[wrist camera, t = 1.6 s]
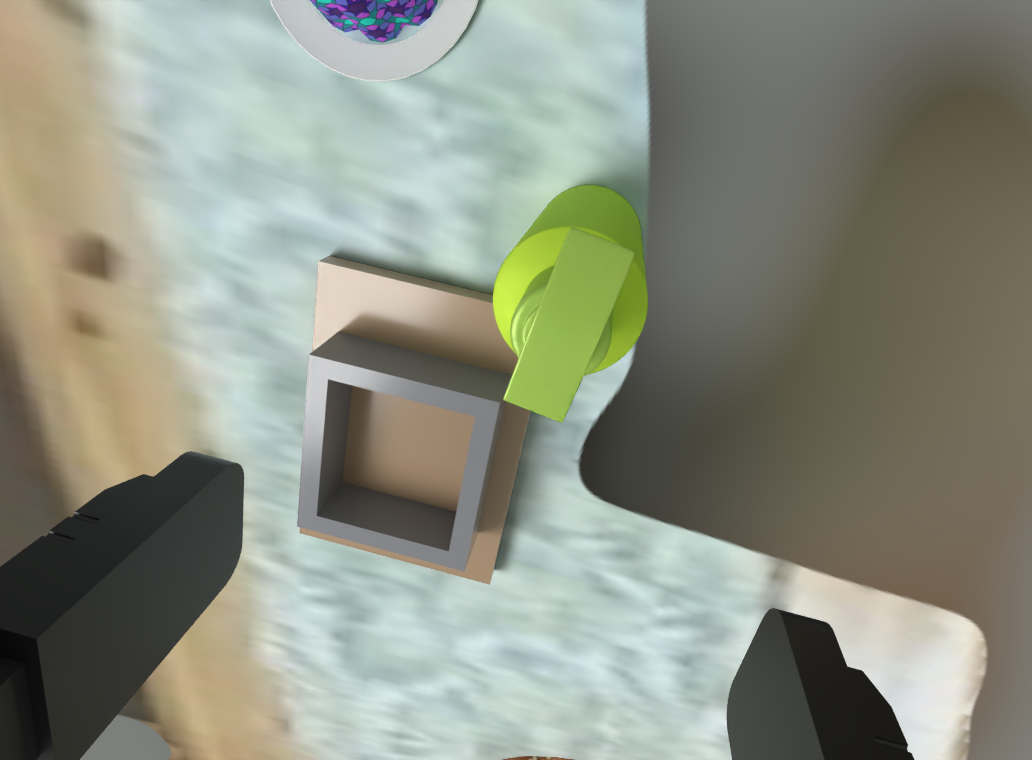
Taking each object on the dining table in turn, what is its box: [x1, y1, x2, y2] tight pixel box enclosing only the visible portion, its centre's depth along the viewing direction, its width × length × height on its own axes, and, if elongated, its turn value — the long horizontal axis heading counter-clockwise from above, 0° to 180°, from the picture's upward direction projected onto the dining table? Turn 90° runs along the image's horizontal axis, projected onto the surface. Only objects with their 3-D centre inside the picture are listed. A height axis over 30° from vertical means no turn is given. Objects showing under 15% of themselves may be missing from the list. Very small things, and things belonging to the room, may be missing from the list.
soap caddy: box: [297, 256, 531, 584], centre depth 40 cm, size 20×14×6 cm
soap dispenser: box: [493, 185, 648, 423], centre depth 27 cm, size 6×7×20 cm
